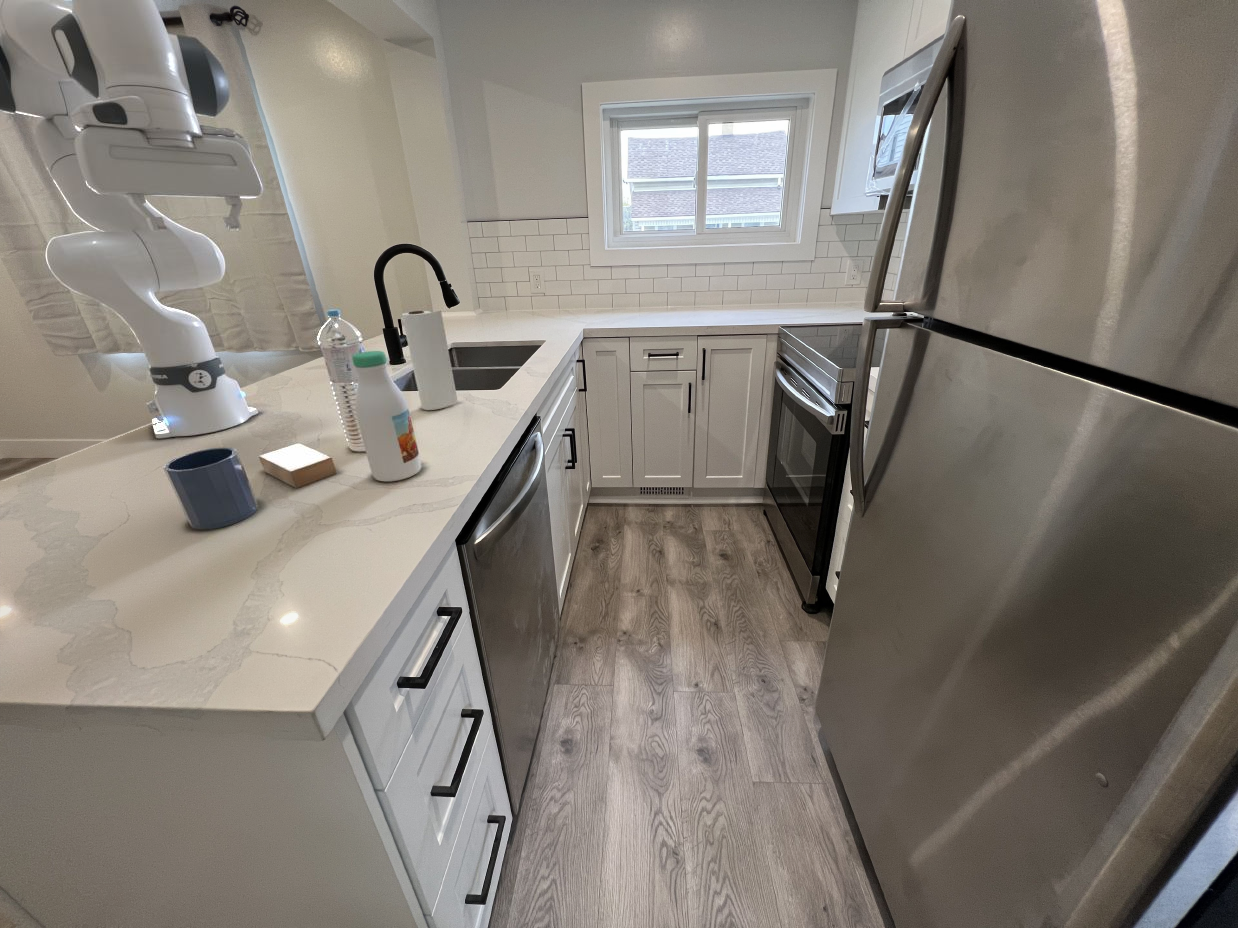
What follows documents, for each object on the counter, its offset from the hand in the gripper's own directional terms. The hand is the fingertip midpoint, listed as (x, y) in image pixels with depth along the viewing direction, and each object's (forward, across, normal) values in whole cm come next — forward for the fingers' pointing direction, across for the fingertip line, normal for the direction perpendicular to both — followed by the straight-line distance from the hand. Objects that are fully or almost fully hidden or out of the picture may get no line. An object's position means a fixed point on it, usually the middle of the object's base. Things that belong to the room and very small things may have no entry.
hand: (198, 230), depth 75 cm
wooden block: (+38, +1, +9) cm, 39 cm away
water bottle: (+38, -12, +8) cm, 41 cm away
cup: (+38, +14, +15) cm, 43 cm away
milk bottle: (+38, -8, +24) cm, 46 cm away
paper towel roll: (+38, -34, -1) cm, 51 cm away
